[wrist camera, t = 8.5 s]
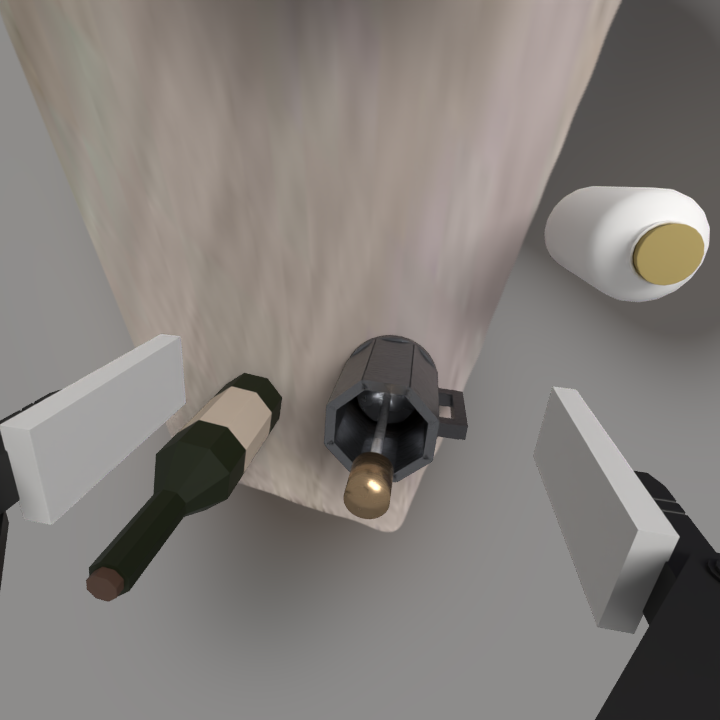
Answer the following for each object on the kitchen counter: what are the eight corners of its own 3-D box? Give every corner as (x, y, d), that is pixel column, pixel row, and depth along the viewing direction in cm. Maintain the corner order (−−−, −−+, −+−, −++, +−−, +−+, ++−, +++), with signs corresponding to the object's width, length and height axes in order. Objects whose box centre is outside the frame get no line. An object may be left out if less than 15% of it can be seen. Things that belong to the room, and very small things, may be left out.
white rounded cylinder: (568, 284, 48) (641, 338, 32) (526, 223, 47) (578, 245, 30) (643, 235, 45) (765, 265, 29) (600, 167, 44) (704, 158, 27)
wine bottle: (240, 360, 58) (67, 524, 30) (294, 396, 58) (173, 586, 31) (213, 405, 61) (35, 590, 33) (264, 438, 62) (131, 646, 34)
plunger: (360, 362, 51) (324, 455, 33) (421, 370, 50) (417, 470, 33) (355, 415, 53) (320, 527, 36) (413, 424, 53) (405, 542, 35)
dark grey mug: (348, 329, 54) (325, 371, 42) (468, 344, 52) (479, 393, 40) (342, 413, 58) (319, 472, 46) (452, 429, 57) (458, 495, 45)
